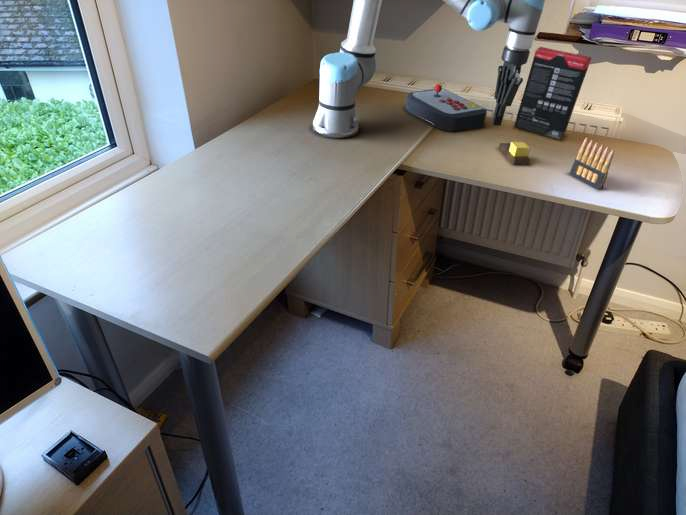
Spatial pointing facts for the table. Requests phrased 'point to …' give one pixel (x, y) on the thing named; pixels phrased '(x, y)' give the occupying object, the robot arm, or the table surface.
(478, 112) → the arcade joystick
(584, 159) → the ammunition clip
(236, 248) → the table surface
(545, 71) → the graphics card box
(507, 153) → the walnut strip
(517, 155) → the yellow block
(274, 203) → the table surface
